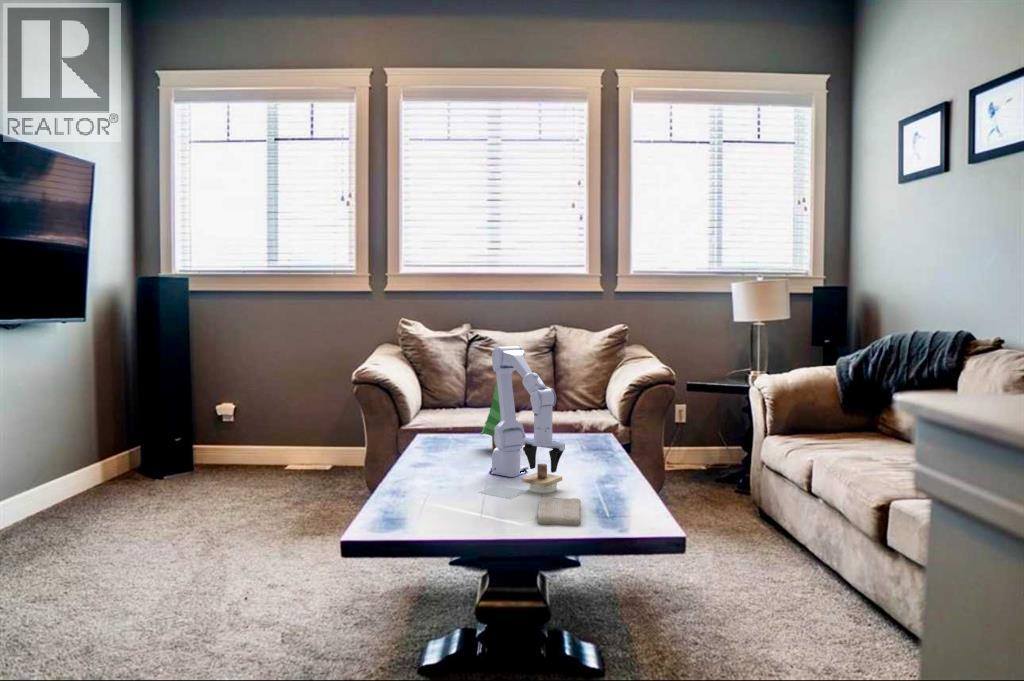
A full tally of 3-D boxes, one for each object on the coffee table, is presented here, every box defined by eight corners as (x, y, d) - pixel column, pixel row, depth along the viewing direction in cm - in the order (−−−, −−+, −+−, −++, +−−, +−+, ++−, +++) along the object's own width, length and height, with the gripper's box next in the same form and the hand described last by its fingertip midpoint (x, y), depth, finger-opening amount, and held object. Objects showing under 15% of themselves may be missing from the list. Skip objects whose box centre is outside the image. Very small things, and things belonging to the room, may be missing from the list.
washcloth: (580, 505, 188) (580, 495, 188) (581, 527, 170) (581, 516, 170) (540, 504, 189) (539, 494, 189) (537, 526, 171) (537, 515, 171)
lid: (522, 481, 200) (522, 465, 199) (538, 475, 207) (538, 459, 206) (545, 487, 194) (545, 470, 194) (562, 480, 201) (562, 464, 201)
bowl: (524, 492, 200) (524, 481, 200) (538, 485, 207) (538, 475, 207) (548, 496, 195) (548, 486, 195) (561, 489, 202) (561, 479, 202)
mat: (478, 494, 197) (478, 492, 197) (496, 486, 206) (496, 484, 206) (510, 501, 191) (510, 499, 191) (528, 492, 199) (528, 490, 199)
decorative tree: (472, 449, 256) (471, 374, 254) (501, 443, 266) (501, 371, 264) (494, 455, 246) (493, 378, 244) (523, 449, 256) (523, 374, 254)
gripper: (516, 426, 200) (516, 469, 201) (557, 432, 192) (557, 476, 193) (528, 423, 206) (528, 464, 207) (568, 428, 198) (568, 471, 199)
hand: (543, 470), depth 201 cm, fingers open, 7 cm apart
